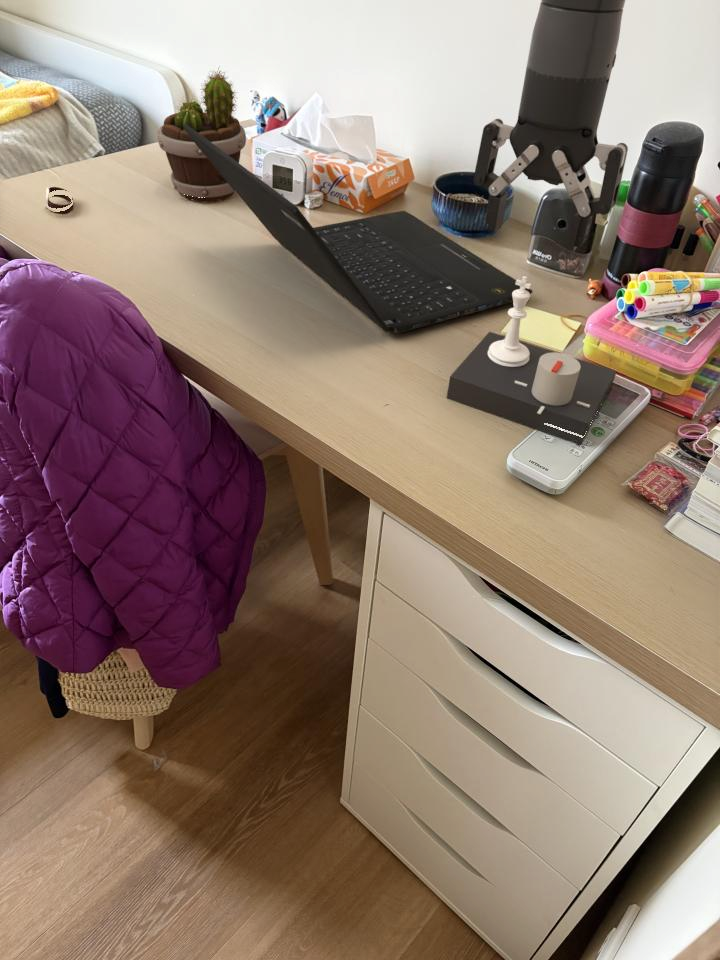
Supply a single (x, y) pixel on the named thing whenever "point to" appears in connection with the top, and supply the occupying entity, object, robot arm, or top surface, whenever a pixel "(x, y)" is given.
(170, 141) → the flowerpot
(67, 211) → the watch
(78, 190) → the top surface
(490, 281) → the laptop
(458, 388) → the dark grey flat block
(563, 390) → the knob
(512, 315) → the chess piece
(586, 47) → the robot arm
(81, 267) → the top surface
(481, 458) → the top surface
